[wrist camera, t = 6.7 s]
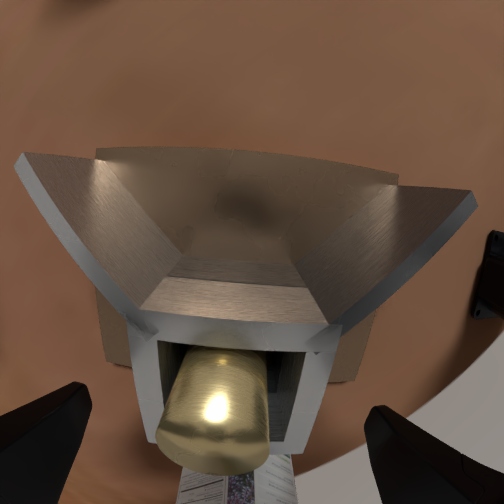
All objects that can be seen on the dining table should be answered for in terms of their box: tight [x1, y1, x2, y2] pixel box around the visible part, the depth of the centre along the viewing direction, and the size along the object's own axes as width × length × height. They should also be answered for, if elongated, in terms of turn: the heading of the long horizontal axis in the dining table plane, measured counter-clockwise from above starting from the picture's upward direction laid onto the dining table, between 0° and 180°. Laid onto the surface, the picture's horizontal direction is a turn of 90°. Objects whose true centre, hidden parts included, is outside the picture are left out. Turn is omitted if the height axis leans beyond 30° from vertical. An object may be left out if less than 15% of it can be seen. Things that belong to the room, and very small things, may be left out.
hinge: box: [14, 147, 478, 455], centre depth 11 cm, size 15×12×7 cm
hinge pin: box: [155, 344, 270, 476], centre depth 10 cm, size 3×3×8 cm
